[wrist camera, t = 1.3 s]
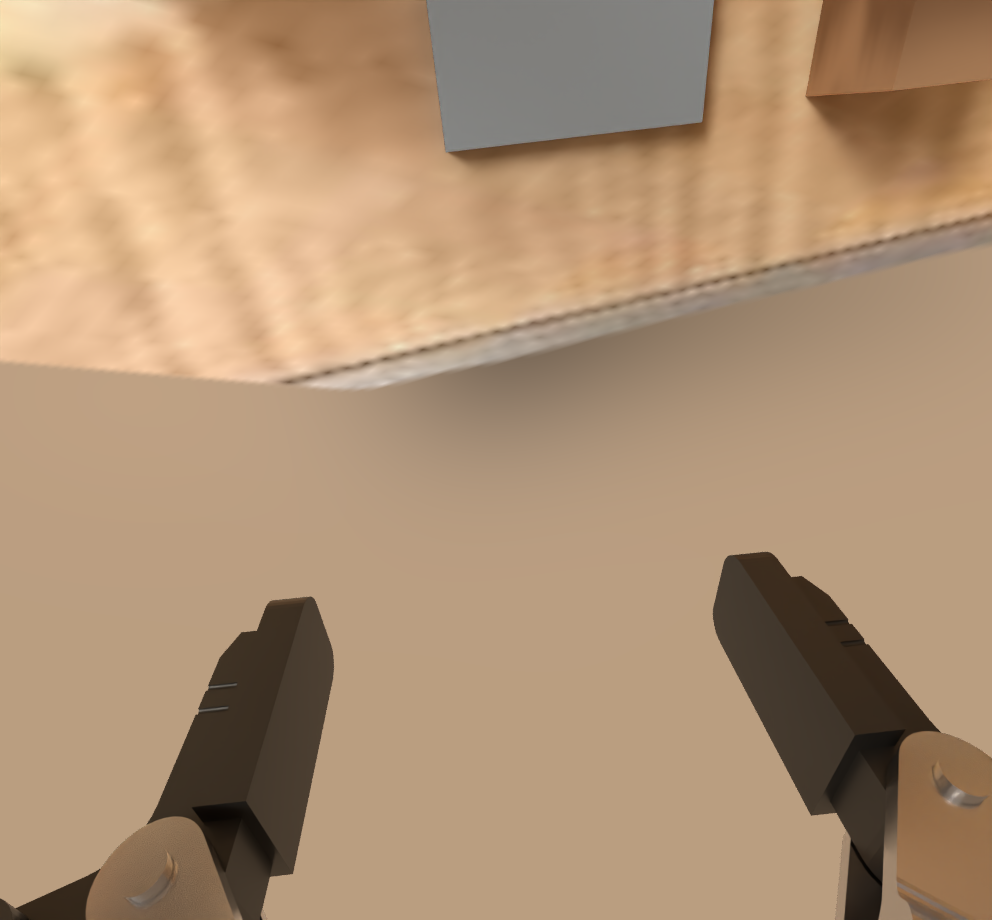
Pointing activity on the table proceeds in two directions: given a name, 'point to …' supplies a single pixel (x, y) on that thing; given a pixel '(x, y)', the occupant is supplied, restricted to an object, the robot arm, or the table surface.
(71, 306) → the table surface
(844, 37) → the walnut brick
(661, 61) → the slate baseplate
